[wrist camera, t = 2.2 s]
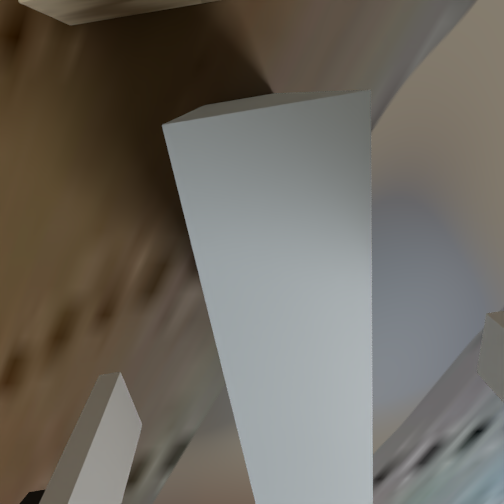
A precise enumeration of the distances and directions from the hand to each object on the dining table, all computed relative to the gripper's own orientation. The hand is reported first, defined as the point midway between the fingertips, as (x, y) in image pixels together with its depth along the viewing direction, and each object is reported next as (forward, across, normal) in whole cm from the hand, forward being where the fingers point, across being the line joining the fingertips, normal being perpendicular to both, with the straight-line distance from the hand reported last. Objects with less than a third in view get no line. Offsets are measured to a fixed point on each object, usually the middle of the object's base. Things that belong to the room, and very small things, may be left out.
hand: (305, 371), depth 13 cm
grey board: (+17, 0, 0) cm, 17 cm away
